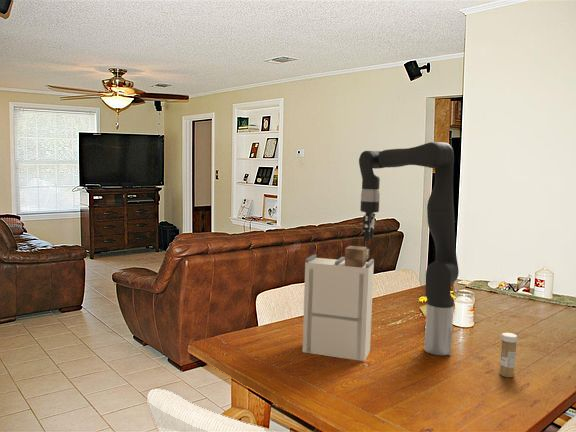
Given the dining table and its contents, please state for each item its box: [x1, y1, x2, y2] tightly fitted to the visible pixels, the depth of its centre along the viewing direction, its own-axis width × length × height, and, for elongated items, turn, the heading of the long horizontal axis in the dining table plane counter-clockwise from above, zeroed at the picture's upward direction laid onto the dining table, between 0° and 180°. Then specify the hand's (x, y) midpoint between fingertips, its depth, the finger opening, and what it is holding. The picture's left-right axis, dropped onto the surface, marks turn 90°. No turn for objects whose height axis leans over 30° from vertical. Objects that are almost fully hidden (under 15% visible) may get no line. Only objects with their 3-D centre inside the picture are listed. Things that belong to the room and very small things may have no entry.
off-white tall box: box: [302, 253, 375, 362], centre depth 180 cm, size 22×11×33 cm, turn 72°
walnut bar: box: [344, 245, 370, 268], centre depth 182 cm, size 6×22×6 cm, turn 162°
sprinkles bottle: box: [498, 332, 518, 378], centre depth 164 cm, size 5×5×14 cm
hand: (368, 239), depth 210 cm, fingers open, 8 cm apart
